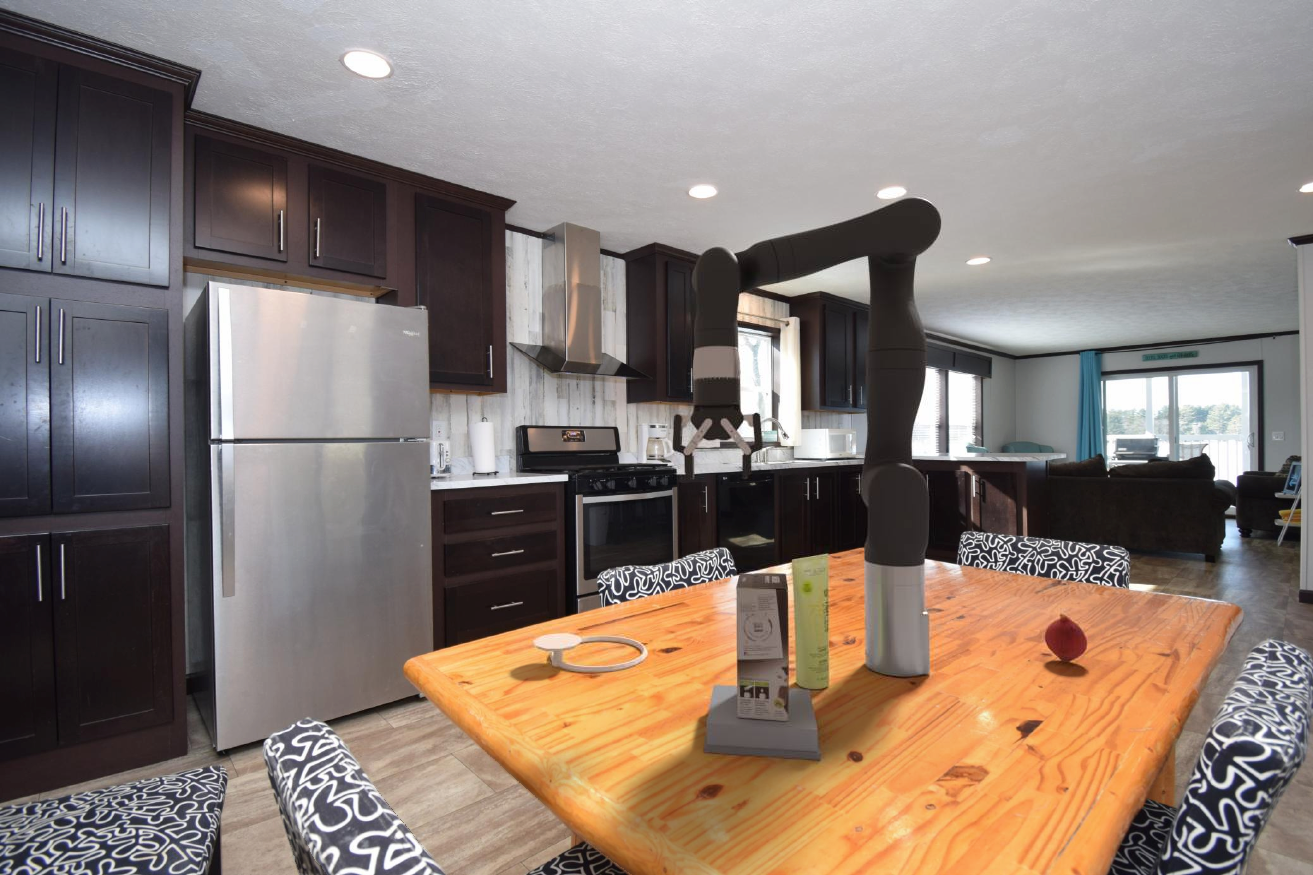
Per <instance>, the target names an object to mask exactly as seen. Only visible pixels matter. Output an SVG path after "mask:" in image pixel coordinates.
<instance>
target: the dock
mask: <svg viewBox="0 0 1313 875" xmlns="http://www.w3.org/2000/svg"><path fill="white" fill-rule="evenodd" d="M705 726H706V732H705V739H704V743H703V744H704V745H703V753H706V754H708V753H709V754H721V755H723V754H725V755H737V756H738V755H739V756H752V757H753V756H754V757H755V756H756V757H767V758H781V759H783V758H784V759H798V760H800V759H801V760H810V761H811V760H812V761H813V760H814V761H815V760H816V761H822V760H821V759H822V756H821V755H822V753H821V748H820V747H821V746H820V743H819V738H818V737H819V734H818V725H817V720H816V716H815V709H814V704H813V700H812V694H811V689H807V688H804V689H803V688H789V703H788V720H787V721H775V720H764V719H751V718H739V717H738V716H737V685H726V684H725V685H722V684H721V685H720V684H713V686H712V692H711V697H710V702H709V706H708V713H707V719H706V725H705Z"/></svg>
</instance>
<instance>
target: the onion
mask: <svg viewBox="0 0 1313 875" xmlns="http://www.w3.org/2000/svg"><path fill="white" fill-rule="evenodd" d="M1059 616H1060V617H1059V618H1058V619H1055V620H1054V621H1053V622H1051V623H1050V624H1049V625H1048V627H1047V628H1046V630H1045V632H1044V642H1045V644H1046V646H1047V648H1048V649H1049V650H1050V651H1051V652H1052V653H1053V654H1054V655H1055V656H1056V657H1057V658H1058V659H1059V660H1060V662H1063V663H1069V662H1072V661H1074V660H1076V659H1078V658H1079V657H1081V656H1082V655H1084V654H1085V652H1086V650H1087V647H1088V641H1087V636H1086V634H1085V633H1084V631H1083V629H1082V628H1081V627H1080V626H1079V624H1077V623H1076V622H1075V621H1073V620H1072V619H1071V617H1069V616H1068V615H1067V614H1066V613H1063V612H1062V613H1060V614H1059Z"/></svg>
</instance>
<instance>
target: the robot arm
mask: <svg viewBox="0 0 1313 875" xmlns="http://www.w3.org/2000/svg"><path fill="white" fill-rule="evenodd" d="M941 229H942V217H941V214H940V212H939V210H938V208H937V207H936V206H935V205H934V204H933V203H932V202H931V201H929V200H928V199H925V198H923V197H918V196H910V197H908V196H907V197H904V198H901V199H898V200H896V201H894V202H892V203H889V204H888V205H885V206H883V207H880V208H878V209H875V210H873V211H871V212H868V213H865V214H863V215H859V216H857V217H854V218H850V219H847V220H845V221H840V222H838V223H833V224H830V225H829V224H828V225H825V226H822V227H818V228H814V229H809V230H804V231H800V232H795V233H792V234H791V233H790V234H787V235H783V236H777V237H774V238H768V239H765V240H761V241H758V242H755V243H754V244H752V245H750V247H748V248H747V249H745V250H742V251H738V252H735V253H733V252H732V251H731V250H730V249H728V248H725V247H722V246H714V247H711V248H708V249H706V250H705V251H703V253H702V254H701V255H700V256H699V258H698V259H697V261H696V262H695V267H694V268H693V272H692V276H691V284H692V287H693V289H694V291H695V293H696V316H695V319H694V325H693V326H694V328H693V329H694V330H693V332H694V333H693V334H694V335H693V337H694V352H693V353H694V355H693V361H692V363H693V364H692V377H693V378H692V380H693V382H692V383H693V384H692V385H693V392H692V393H693V411H692V413H691V415H687V414H686V415H684V414H683V415H682V414H679V413H676V414H675V415H674V416H673V428H672V430H673V431H672V450H673V451H674V452H676V453H680V454H682V455H683V456H684V457H683V458H684V459H683V460H684V464H683V465H684V466H683V467H684V474H685V476H688V479H689V480H694V479H695V455H694V451H695V450H696V449H697V447H698V446H699V444H700V443H701V442H702V441H703V440H706V441H716V440H719V441H729V440H731V439H732V440H733V441H734V442H735V444H736V445H737V446H738V447H739V449H741V451H742V452H743V454H742V456H741V460H742V462H741V464H742V468H741V469H742V470H741V471H742V479H744V480H745V479H746V480H747V479H748V476H750V475H751V474H752V471H753V470H752V455H753V454H754V453H755V452H759V451H761V450H762V449H763V447H764V446H763V434H762V420H761V414H760V413H759V412H754V413H748V414H743V412H742V407H741V404H742V402H741V401H742V400H741V394H742V393H741V372H742V371H741V361H740V352H739V324H738V312H739V311H738V310H739V309H738V308H739V303H740V302H739V301H740V295H742V294H744V293H748V292H750V291H752V290H756V289H757V288H760V287H765V286H771V285H775V284H780V283H784V282H789V281H793V280H797V279H801V278H805V277H807V276H811V275H813V274H816V273H819V272H822V271H824V270H828V269H830V268H833V267H835V266H838V265H841V264H844V263H847V262H851V261H853V260H856V259H860V258H861V259H862V258H866V257H867V262H868V264H867V265H868V275H869V276H868V278H869V279H868V280H869V307H868V308H869V309H868V321H867V322H868V325H867V344H866V345H867V346H866V360H865V361H866V362H865V364H866V365H865V366H866V368H865V389H866V390H865V399H866V400H865V403H866V404H865V405H866V422H867V423H866V424H867V426H866V427H867V429H866V442H865V444H866V445H865V450H864V451H865V452H864V458H863V465H862V473H861V479H860V484H859V485H860V490H859V491H860V495H861V496H860V497H861V499H862V501H863V503H864V504H865V506H866V507H867V535H866V536H867V537H866V541H865V542H864V545H863V546H864V547H863V548H864V550H863V555H864V556H863V558H864V561H863V563H864V564H863V566H864V623H865V624H864V625H865V626H864V629H865V631H864V632H865V634H864V636H865V639H864V640H865V643H864V644H865V647H864V648H865V650H864V651H865V652H864V654H865V666H866V667H867V668H869V669H870V670H871V671H874V672H875V673H879V674H882V675H886V676H887V675H888V676H891V677H892V676H893V677H903V678H904V677H906V678H907V677H917V676H922V675H930V674H931V670H930V668H931V667H930V664H931V663H930V662H931V661H930V657H931V656H930V649H931V648H930V614H929V612H928V611H927V610H926V563H925V562H926V551H927V547H928V544H929V535H930V534H929V532H930V531H929V530H930V527H929V526H930V525H929V524H930V496H929V489H928V487H929V486H928V484H927V481H926V479H925V477H924V476H923V474H922V473H921V472H920V471H919V470H918V469H917V468H915V467H914V466H913V464H914V463H913V432H914V427H915V422H916V419H917V416H918V412H919V409H920V406H921V402H922V398H923V394H924V390H925V384H926V376H927V374H926V373H927V352H928V351H927V338H926V336H927V335H926V332H925V328H924V326H923V322H922V319H921V317H920V314H919V311H918V308H917V305H916V300H915V293H914V288H915V287H914V285H915V283H914V282H915V272H916V263H917V260H918V258H917V257H918V256H920V255H921V254H923V253H924V252H926V251H927V250H928V249H929V248H931V247H932V245H934V243H935V242H936V240H937V239H938V237H939V236H940V232H941ZM744 421H745V422H746V423H747V425H748V427H750V428H753V440H754V441H753V442H754V444H751V445H749V444H748V443H747V442H746V441H745V439H744V438H743V436H742V435H741V434H740V433H739V432H738V430H739V428H740V427H741V425H742V424H743V423H744ZM688 423H691V424H692V425H693V427H694V428H695V429H696V432H695V434H694V435H693V436H692V438H691V439H690V441H689V442H688V444H687V445H683V433H684V432H683V429H685V428H687V426H688Z"/></svg>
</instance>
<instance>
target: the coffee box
mask: <svg viewBox="0 0 1313 875" xmlns="http://www.w3.org/2000/svg"><path fill="white" fill-rule="evenodd" d="M737 579H738V580H737V583H736V588H735V589H736V686H737V716H738V717H739V718H751V719H764V720H775V721H787V720H788V703H789V689H790V682H789V681H790V642H789V641H790V640H789V638H790V637H789V636H790V635H789V634H790V633H789V631H790V630H789V629H790V628H789V587H788V579H787V574H786V573H777V572H775V573H774V572H772V573H771V572H770V573H769V572H762V573H761V572H758V573H755V572H754V573H743V572H742V573H741V572H740V573H739V575H738V578H737Z"/></svg>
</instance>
